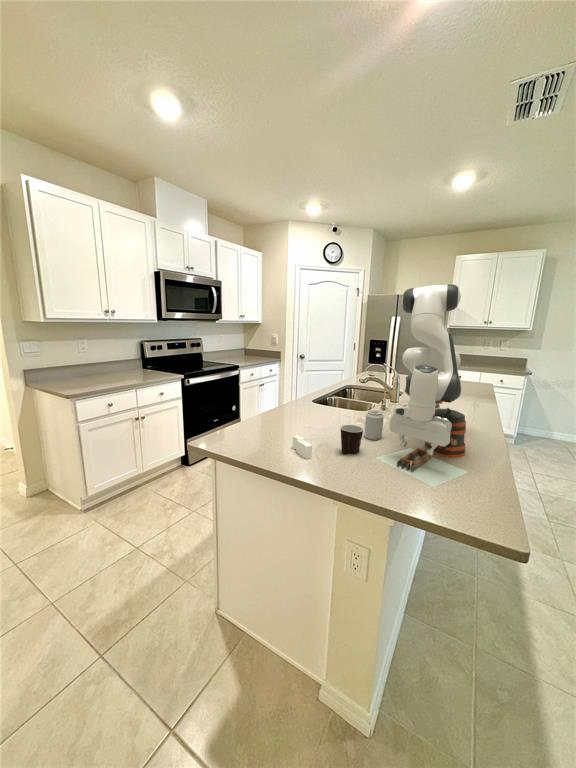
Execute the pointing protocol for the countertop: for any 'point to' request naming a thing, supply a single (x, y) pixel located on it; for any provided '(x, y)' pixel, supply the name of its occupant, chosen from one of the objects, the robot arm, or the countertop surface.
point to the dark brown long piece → (414, 459)
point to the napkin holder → (302, 447)
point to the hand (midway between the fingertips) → (416, 450)
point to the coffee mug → (351, 439)
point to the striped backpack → (451, 434)
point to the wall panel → (425, 468)
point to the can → (374, 425)
